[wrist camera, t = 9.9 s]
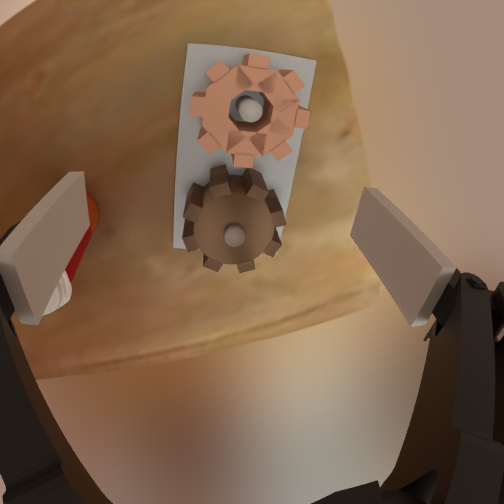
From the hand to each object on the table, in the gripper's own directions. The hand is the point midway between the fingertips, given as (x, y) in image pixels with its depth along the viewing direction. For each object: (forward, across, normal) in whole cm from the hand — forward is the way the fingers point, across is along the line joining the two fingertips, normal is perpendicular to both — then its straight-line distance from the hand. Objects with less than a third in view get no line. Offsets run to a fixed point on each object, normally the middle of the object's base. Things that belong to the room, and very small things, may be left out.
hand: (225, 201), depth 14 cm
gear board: (+19, +2, -3) cm, 20 cm away
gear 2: (+17, +2, -8) cm, 19 cm away
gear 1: (+17, +2, +2) cm, 18 cm away
